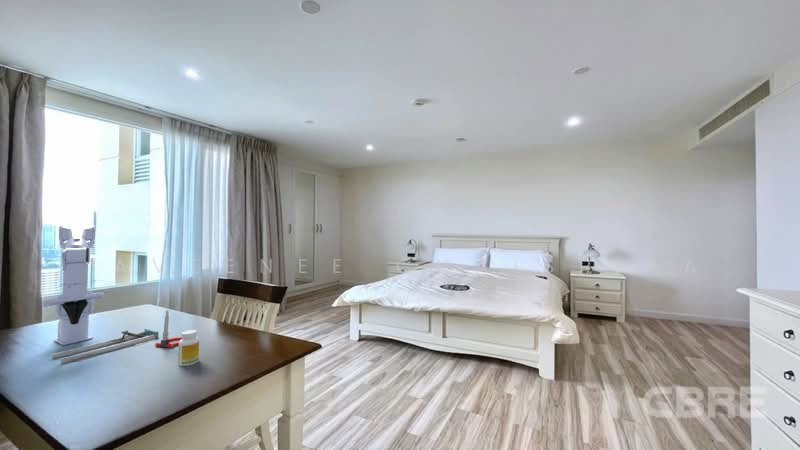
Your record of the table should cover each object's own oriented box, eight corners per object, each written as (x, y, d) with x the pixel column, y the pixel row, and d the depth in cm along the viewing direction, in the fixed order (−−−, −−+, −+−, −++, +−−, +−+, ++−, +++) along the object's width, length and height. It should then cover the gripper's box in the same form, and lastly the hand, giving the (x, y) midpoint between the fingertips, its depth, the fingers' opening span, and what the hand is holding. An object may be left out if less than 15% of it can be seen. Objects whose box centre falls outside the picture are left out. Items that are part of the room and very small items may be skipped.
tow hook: (175, 339, 119) (152, 347, 110) (177, 305, 119) (155, 310, 110) (194, 340, 117) (173, 348, 108) (196, 306, 118) (175, 311, 109)
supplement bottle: (202, 360, 99) (203, 330, 99) (186, 367, 94) (187, 335, 94) (190, 358, 101) (191, 328, 101) (174, 364, 96) (174, 333, 96)
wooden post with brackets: (116, 341, 112) (123, 329, 113) (142, 346, 116) (148, 334, 118) (115, 342, 111) (122, 330, 112) (141, 347, 115) (148, 335, 116)
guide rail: (51, 358, 99) (51, 350, 99) (147, 334, 122) (147, 328, 122) (63, 365, 94) (64, 357, 94) (160, 338, 118) (160, 332, 118)
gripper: (48, 288, 95) (46, 331, 95) (108, 281, 108) (107, 319, 108) (39, 285, 98) (38, 328, 98) (99, 279, 111) (98, 317, 111)
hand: (74, 323), depth 103 cm, fingers closed
